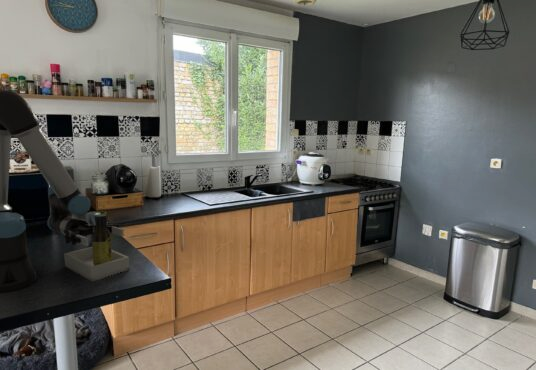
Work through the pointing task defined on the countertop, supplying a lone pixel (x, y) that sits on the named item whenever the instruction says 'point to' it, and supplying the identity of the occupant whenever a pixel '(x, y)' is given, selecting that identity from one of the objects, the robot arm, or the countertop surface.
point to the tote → (84, 265)
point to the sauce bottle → (101, 241)
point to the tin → (91, 220)
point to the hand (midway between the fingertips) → (105, 237)
